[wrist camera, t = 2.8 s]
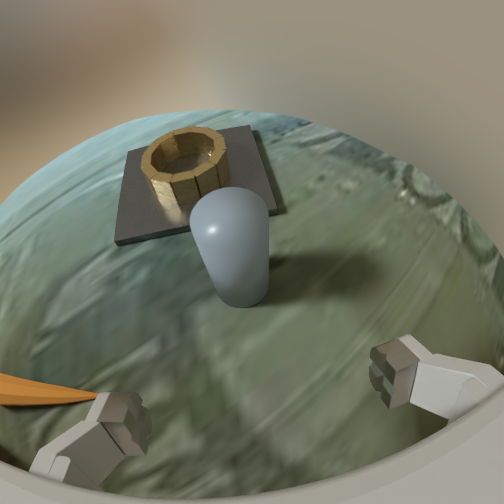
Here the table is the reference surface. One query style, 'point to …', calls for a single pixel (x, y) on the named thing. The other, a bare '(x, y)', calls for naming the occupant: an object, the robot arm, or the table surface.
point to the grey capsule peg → (234, 243)
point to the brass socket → (189, 182)
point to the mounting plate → (178, 216)
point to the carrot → (38, 392)
